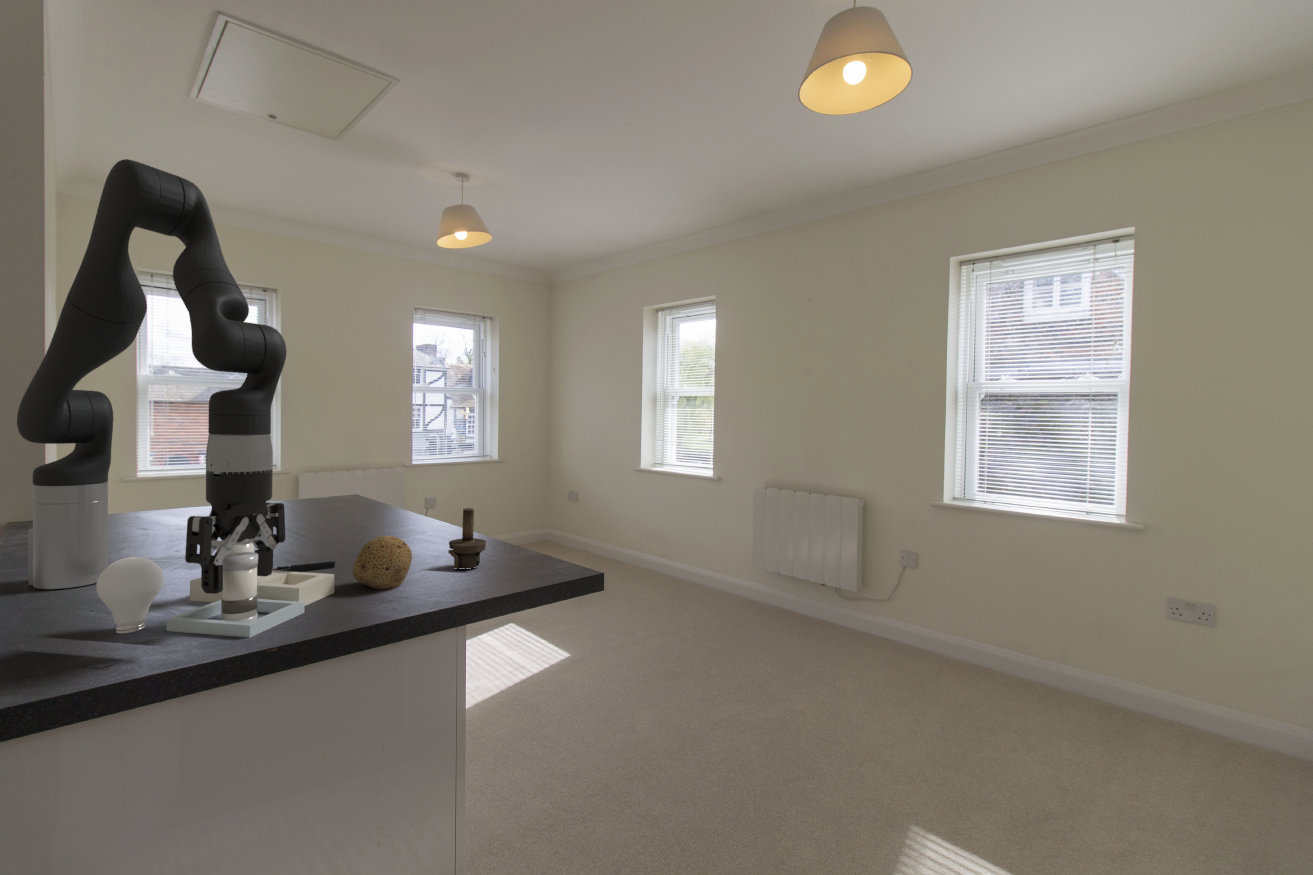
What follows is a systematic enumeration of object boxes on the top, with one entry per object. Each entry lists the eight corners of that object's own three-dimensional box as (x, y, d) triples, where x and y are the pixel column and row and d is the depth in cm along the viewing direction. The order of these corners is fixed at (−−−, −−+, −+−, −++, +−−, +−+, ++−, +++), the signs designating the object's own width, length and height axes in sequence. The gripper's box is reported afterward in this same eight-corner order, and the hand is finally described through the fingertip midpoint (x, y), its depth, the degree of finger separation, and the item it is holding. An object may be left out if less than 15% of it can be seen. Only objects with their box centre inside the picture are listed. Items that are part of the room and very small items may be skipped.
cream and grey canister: (212, 631, 80) (213, 558, 80) (238, 620, 85) (238, 551, 84) (240, 633, 80) (241, 560, 80) (264, 622, 84) (265, 553, 84)
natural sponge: (352, 604, 95) (353, 542, 95) (352, 589, 103) (353, 532, 103) (413, 598, 99) (414, 539, 99) (408, 584, 107) (409, 529, 107)
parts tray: (166, 641, 78) (166, 619, 78) (229, 616, 88) (229, 596, 88) (249, 648, 77) (250, 625, 77) (304, 622, 87) (304, 601, 86)
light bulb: (124, 630, 81) (124, 551, 81) (175, 630, 82) (176, 551, 81) (81, 649, 75) (81, 563, 74) (137, 649, 75) (138, 563, 75)
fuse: (214, 597, 92) (215, 533, 92) (236, 589, 96) (237, 528, 96) (239, 599, 91) (239, 534, 91) (260, 591, 96) (261, 529, 95)
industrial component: (450, 573, 115) (451, 512, 115) (443, 565, 121) (444, 507, 121) (498, 569, 120) (500, 510, 119) (489, 561, 126) (491, 505, 126)
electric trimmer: (336, 579, 111) (337, 562, 111) (234, 590, 101) (235, 572, 101) (333, 574, 114) (333, 558, 114) (234, 585, 104) (234, 567, 104)
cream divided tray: (189, 609, 90) (189, 580, 90) (233, 594, 98) (233, 567, 98) (298, 617, 88) (299, 588, 88) (334, 601, 96) (334, 574, 96)
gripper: (255, 462, 89) (254, 569, 90) (167, 470, 75) (166, 597, 75) (301, 464, 88) (300, 572, 89) (221, 472, 74) (220, 601, 75)
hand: (239, 583), depth 82 cm, fingers open, 8 cm apart
